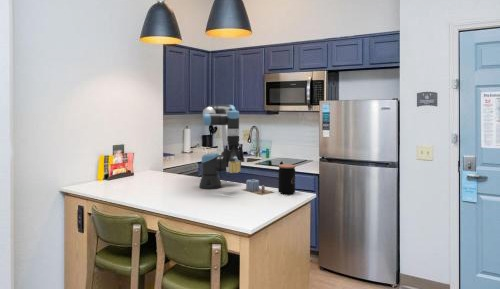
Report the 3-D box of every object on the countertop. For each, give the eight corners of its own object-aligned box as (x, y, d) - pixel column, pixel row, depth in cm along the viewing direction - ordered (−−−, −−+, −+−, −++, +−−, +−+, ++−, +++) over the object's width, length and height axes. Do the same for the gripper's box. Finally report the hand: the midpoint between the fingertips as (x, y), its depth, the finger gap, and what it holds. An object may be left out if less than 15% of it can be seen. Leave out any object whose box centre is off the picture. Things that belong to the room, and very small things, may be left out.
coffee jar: (294, 195, 230) (294, 167, 228) (277, 194, 232) (277, 166, 230) (295, 191, 240) (295, 164, 238) (279, 190, 242) (279, 164, 241)
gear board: (240, 191, 241) (240, 183, 240) (254, 188, 249) (254, 180, 248) (261, 196, 226) (261, 188, 226) (275, 193, 234) (275, 185, 234)
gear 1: (223, 171, 231) (223, 162, 231) (234, 169, 237) (233, 160, 236) (232, 173, 225) (232, 163, 224) (242, 171, 230) (242, 162, 230)
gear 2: (243, 190, 240) (243, 181, 239) (250, 187, 247) (250, 178, 246) (254, 191, 235) (254, 182, 235) (261, 189, 242) (261, 180, 242)
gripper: (223, 136, 219) (224, 174, 221) (249, 134, 233) (249, 170, 235) (216, 135, 225) (216, 172, 227) (241, 134, 238) (242, 168, 241)
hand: (233, 171), depth 231 cm, fingers closed on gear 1, 8 cm apart
